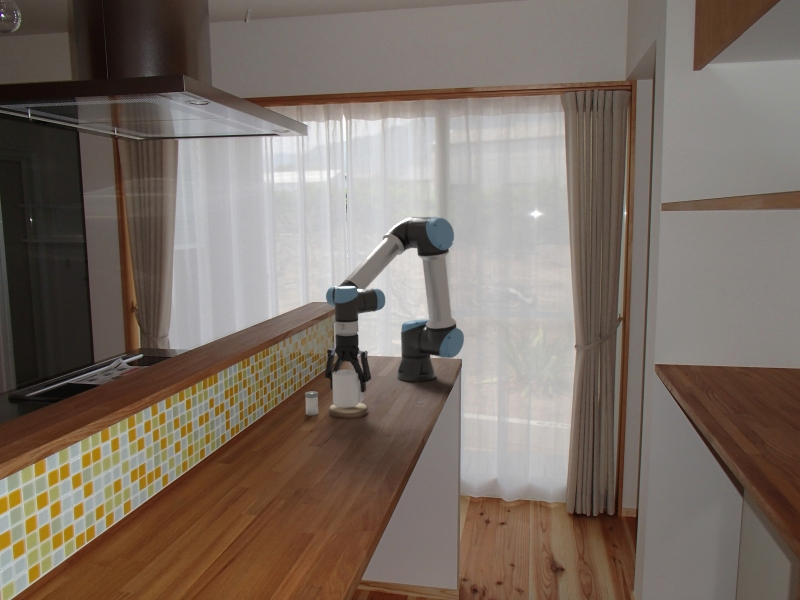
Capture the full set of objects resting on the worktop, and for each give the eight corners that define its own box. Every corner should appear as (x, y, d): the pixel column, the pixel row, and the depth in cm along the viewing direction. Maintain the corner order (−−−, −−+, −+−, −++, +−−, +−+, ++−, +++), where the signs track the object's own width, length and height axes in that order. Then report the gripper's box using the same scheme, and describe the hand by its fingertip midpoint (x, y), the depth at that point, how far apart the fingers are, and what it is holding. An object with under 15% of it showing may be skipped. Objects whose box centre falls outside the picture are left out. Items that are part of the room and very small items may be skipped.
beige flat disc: (339, 405, 227) (339, 399, 227) (373, 408, 223) (373, 403, 223) (321, 416, 215) (321, 410, 215) (358, 420, 211) (357, 414, 211)
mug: (366, 398, 223) (365, 368, 222) (353, 409, 212) (352, 376, 210) (342, 396, 226) (342, 366, 224) (328, 406, 214) (328, 375, 213)
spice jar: (309, 410, 221) (308, 390, 220) (320, 412, 220) (320, 392, 219) (303, 414, 217) (302, 394, 216) (314, 415, 216) (314, 395, 215)
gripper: (312, 333, 216) (314, 400, 219) (372, 337, 208) (373, 406, 211) (323, 329, 223) (324, 394, 226) (381, 333, 215) (382, 400, 218)
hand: (348, 400), depth 219 cm, fingers closed on mug, 9 cm apart
